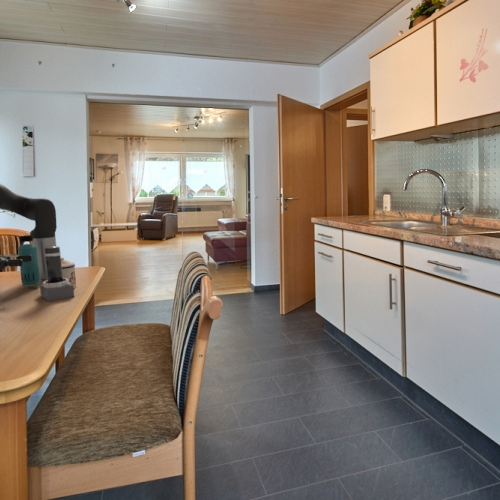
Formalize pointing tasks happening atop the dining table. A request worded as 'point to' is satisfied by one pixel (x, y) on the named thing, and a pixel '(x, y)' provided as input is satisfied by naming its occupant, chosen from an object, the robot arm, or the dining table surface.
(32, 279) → the beverage bottle
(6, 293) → the dining table surface
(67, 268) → the teacup with lid
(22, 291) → the dining table surface
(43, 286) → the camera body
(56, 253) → the lens
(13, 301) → the dining table surface
